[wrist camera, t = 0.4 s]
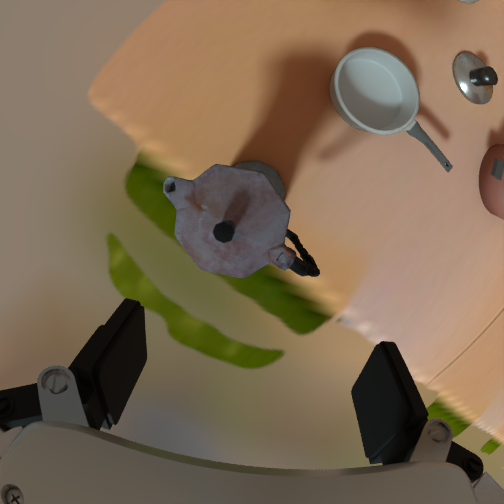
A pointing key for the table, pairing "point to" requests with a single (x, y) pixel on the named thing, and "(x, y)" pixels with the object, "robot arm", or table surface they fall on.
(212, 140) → the table surface
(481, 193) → the pot
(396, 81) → the saucepan
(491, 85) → the lid
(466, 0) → the toilet tissue
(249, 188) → the moka pot
